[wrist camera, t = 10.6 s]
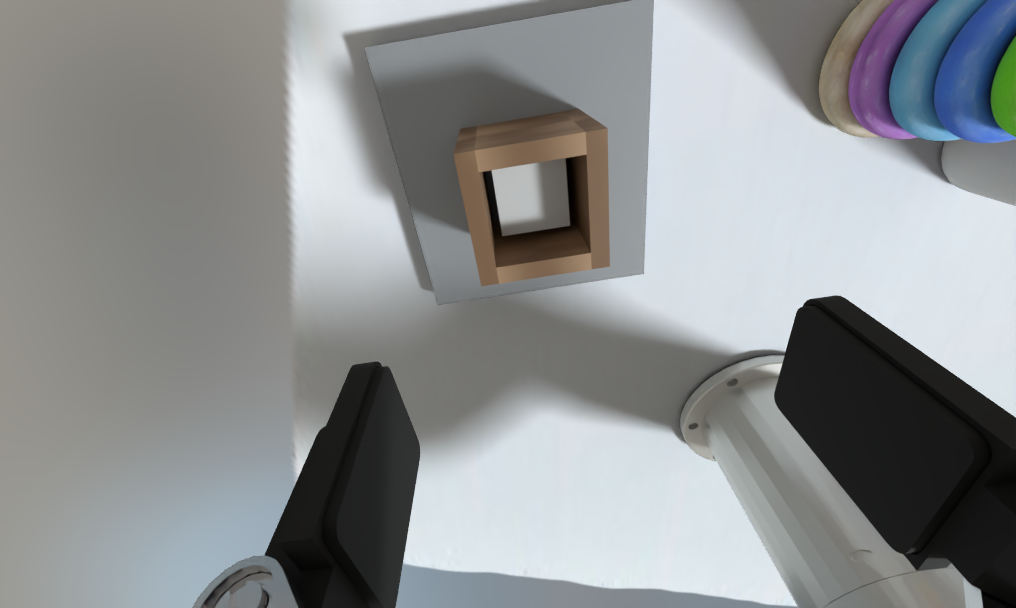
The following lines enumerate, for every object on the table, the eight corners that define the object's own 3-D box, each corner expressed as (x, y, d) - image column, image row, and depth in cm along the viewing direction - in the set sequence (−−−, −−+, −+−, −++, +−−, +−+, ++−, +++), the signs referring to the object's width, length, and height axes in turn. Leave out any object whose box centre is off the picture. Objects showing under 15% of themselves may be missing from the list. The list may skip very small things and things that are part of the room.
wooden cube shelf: (578, 108, 22) (607, 128, 17) (584, 221, 25) (609, 266, 20) (460, 128, 22) (453, 153, 17) (481, 238, 25) (481, 286, 20)
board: (643, -1, 21) (684, -13, 16) (636, 263, 29) (663, 301, 24) (371, 47, 21) (343, 48, 17) (439, 293, 29) (432, 335, 25)
